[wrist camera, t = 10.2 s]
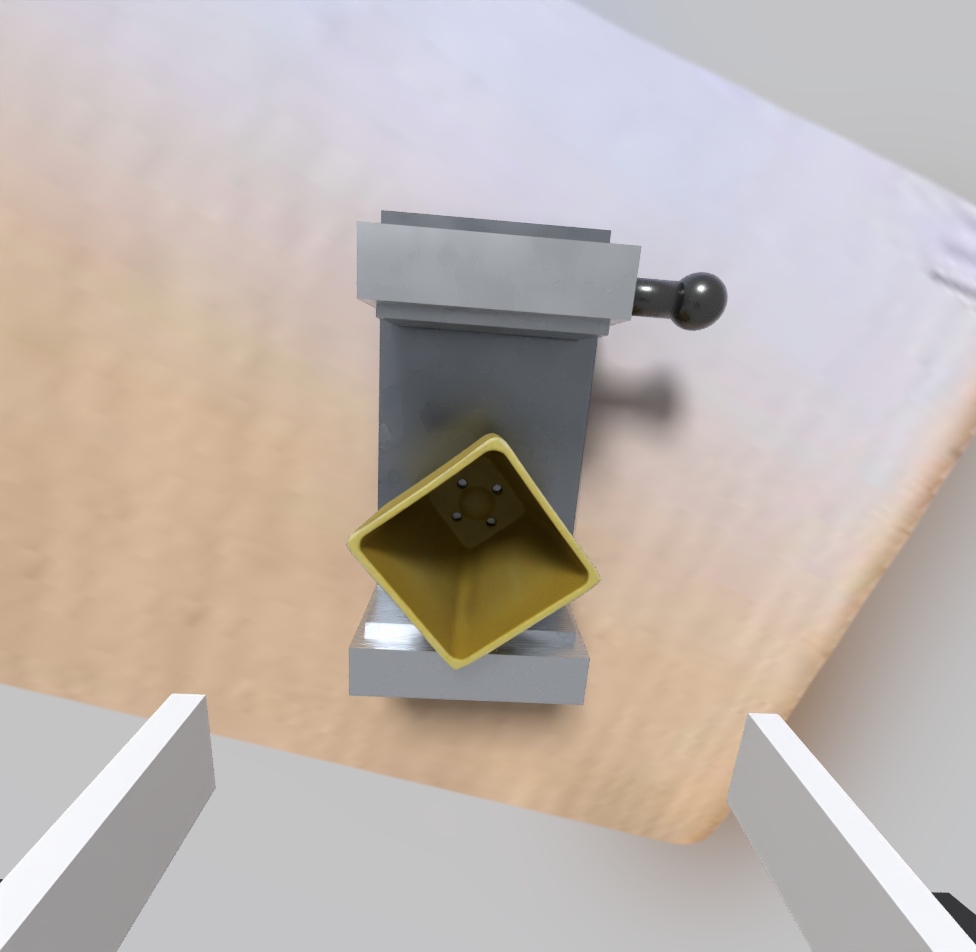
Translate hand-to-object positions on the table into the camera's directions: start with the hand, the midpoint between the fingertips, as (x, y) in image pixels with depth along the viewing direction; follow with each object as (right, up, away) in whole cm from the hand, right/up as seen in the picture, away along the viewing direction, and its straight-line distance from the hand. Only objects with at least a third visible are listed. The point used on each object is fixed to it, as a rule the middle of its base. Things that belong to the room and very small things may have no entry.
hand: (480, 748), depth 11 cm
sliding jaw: (+3, +17, +15) cm, 23 cm away
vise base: (0, +9, +19) cm, 21 cm away
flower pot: (-1, +5, +19) cm, 19 cm away
